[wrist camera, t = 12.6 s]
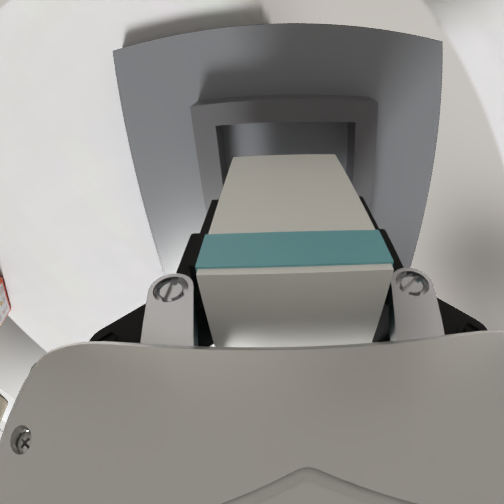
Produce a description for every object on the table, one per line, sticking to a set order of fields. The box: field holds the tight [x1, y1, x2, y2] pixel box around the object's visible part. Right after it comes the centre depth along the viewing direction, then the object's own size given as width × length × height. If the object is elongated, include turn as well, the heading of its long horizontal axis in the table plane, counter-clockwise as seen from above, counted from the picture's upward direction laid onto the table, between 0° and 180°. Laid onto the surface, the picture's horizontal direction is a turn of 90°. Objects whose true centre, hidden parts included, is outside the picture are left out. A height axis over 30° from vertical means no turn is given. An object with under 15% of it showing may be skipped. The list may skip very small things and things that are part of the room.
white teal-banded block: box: [195, 154, 394, 347], centre depth 10 cm, size 5×4×7 cm
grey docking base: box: [113, 23, 442, 347], centre depth 18 cm, size 34×16×10 cm, turn 4°
